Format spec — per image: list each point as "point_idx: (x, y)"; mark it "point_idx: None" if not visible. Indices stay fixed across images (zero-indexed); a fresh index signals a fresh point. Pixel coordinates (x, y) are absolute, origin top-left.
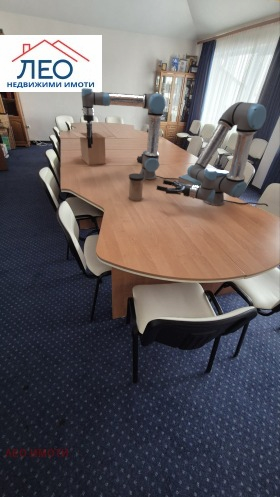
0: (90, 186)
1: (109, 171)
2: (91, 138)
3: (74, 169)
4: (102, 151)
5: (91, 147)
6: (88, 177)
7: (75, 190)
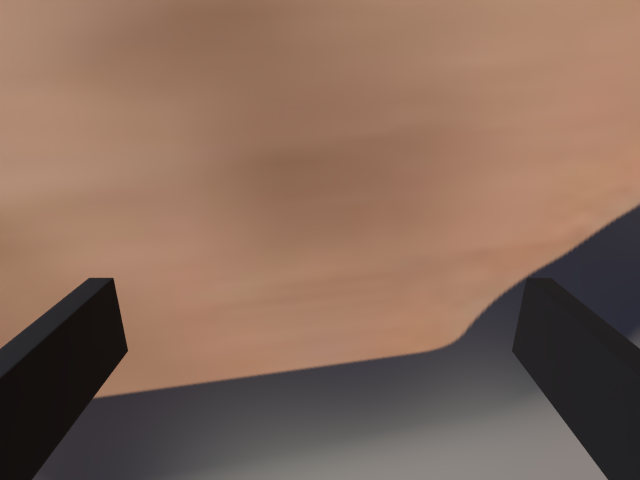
0: (444, 177)
1: (5, 6)
2: (25, 396)
3: None
4: None
5: (559, 287)
6: (234, 210)
7: (515, 275)
